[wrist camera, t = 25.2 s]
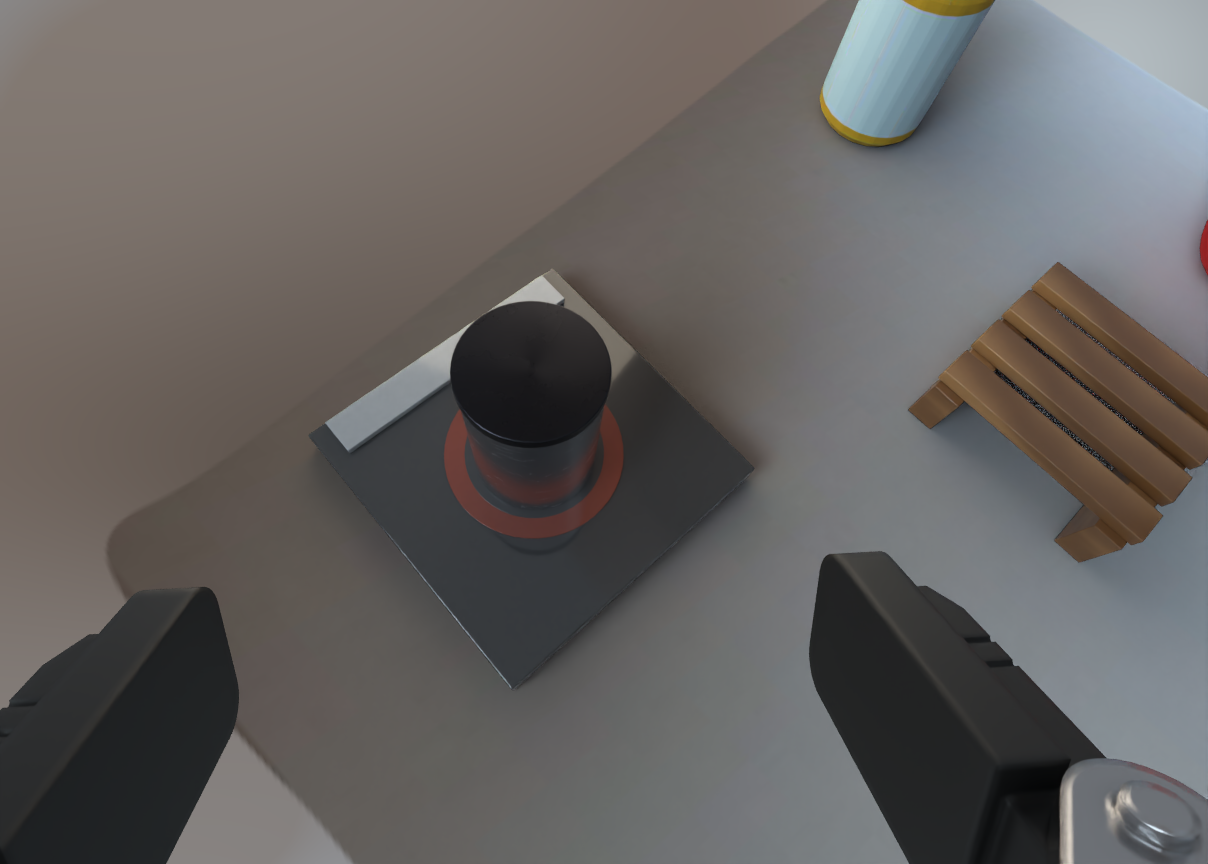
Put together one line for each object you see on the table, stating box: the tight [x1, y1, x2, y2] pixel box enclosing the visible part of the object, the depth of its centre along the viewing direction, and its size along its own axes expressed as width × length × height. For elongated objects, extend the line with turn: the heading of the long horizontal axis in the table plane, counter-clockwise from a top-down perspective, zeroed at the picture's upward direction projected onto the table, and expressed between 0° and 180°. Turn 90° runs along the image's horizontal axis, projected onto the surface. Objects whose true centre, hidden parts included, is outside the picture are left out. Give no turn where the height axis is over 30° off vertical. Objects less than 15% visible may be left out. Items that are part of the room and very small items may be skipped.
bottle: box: [820, 0, 995, 147], centre depth 41 cm, size 7×7×15 cm
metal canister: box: [450, 301, 612, 510], centre depth 31 cm, size 6×6×9 cm
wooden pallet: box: [909, 262, 1208, 562], centre depth 38 cm, size 12×12×4 cm
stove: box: [309, 269, 754, 691], centre depth 36 cm, size 16×16×2 cm
